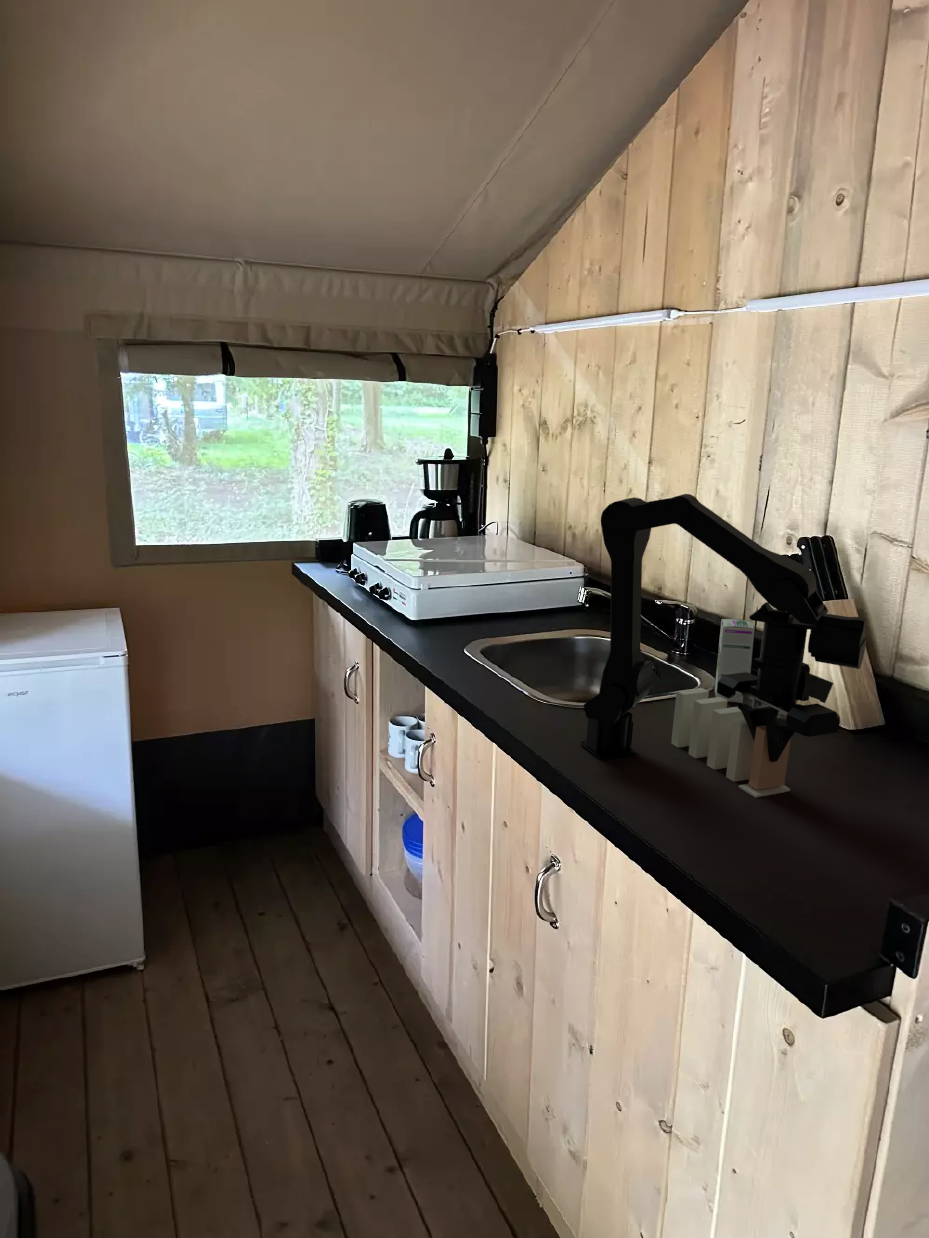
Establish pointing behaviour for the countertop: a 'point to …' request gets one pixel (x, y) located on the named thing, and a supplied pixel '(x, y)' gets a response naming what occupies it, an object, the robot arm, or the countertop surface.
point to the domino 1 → (685, 715)
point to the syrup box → (734, 651)
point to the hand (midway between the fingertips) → (768, 758)
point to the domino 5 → (767, 763)
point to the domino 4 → (740, 751)
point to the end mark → (763, 790)
